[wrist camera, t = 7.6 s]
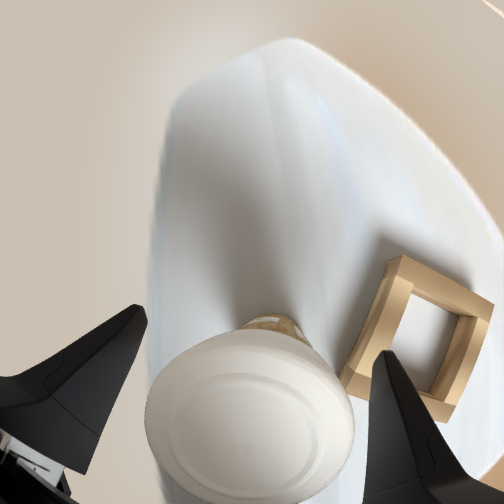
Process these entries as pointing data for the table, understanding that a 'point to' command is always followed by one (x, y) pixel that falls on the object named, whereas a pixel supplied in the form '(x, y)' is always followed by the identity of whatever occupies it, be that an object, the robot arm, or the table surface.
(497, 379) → the table surface
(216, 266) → the table surface
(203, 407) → the sprinkles bottle
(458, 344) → the block
